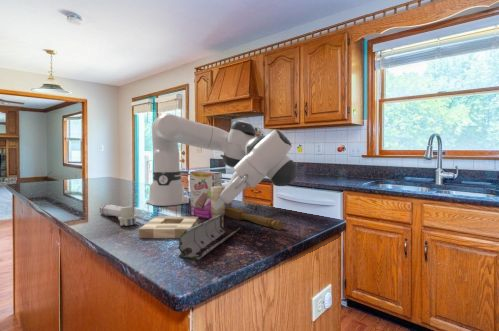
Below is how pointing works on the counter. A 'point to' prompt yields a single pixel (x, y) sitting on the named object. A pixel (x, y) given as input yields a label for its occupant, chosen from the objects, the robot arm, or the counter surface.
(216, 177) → the candy bar box
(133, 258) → the counter surface
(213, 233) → the grey angled channel
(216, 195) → the peg
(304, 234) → the counter surface
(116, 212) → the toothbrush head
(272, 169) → the robot arm
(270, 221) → the tap handle
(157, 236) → the board
